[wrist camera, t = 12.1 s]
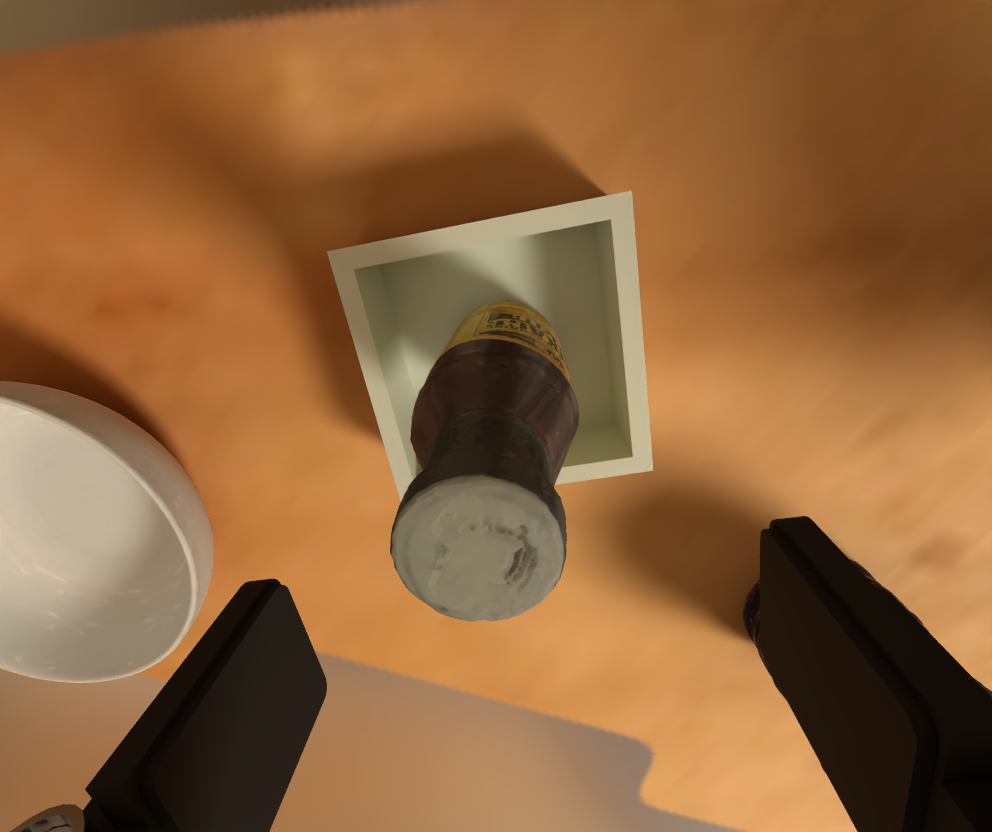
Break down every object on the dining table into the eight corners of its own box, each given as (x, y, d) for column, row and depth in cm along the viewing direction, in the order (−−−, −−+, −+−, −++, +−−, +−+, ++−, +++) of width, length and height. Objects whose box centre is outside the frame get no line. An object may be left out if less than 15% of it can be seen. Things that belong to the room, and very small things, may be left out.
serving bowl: (-64, 307, 30) (-216, 332, 24) (273, 414, 32) (215, 462, 26) (-41, 565, 38) (-153, 636, 32) (231, 638, 40) (178, 719, 34)
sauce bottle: (579, 350, 29) (698, 578, 11) (503, 417, 31) (497, 710, 13) (502, 267, 28) (494, 375, 9) (427, 343, 29) (294, 559, 11)
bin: (607, 195, 27) (631, 190, 22) (629, 427, 32) (652, 470, 27) (361, 244, 28) (326, 251, 23) (419, 460, 33) (402, 507, 28)
